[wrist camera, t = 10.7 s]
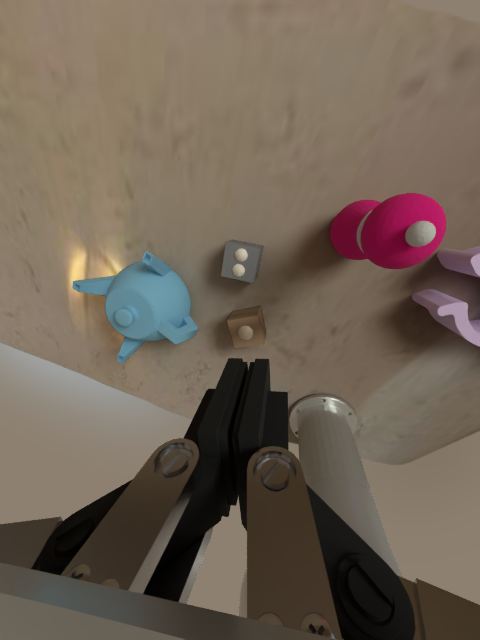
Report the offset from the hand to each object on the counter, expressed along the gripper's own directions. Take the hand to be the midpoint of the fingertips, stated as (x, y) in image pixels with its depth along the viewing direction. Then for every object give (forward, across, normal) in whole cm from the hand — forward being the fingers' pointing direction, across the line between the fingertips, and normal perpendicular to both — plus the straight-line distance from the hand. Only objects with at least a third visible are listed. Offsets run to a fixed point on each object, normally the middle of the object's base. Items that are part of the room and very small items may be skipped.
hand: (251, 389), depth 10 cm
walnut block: (+31, +5, +9) cm, 33 cm away
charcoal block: (+31, +5, -2) cm, 32 cm away
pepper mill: (+31, -11, -5) cm, 34 cm away
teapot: (+31, +22, +4) cm, 39 cm away
